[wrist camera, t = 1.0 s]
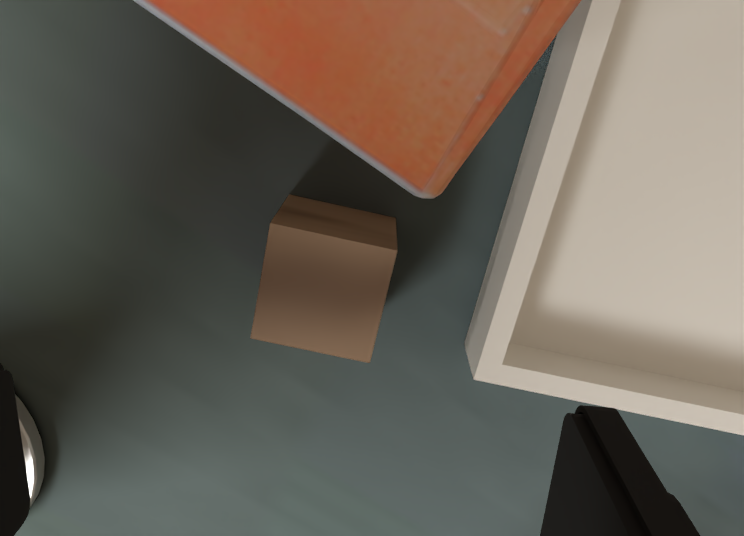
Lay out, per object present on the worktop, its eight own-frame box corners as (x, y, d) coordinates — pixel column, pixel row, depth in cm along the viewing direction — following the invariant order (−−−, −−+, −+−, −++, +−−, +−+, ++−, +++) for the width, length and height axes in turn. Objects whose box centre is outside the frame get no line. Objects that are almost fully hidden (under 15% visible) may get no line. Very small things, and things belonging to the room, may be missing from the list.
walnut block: (372, 314, 30) (369, 362, 26) (271, 292, 30) (250, 338, 25) (395, 217, 29) (397, 250, 24) (289, 194, 28) (269, 223, 24)
